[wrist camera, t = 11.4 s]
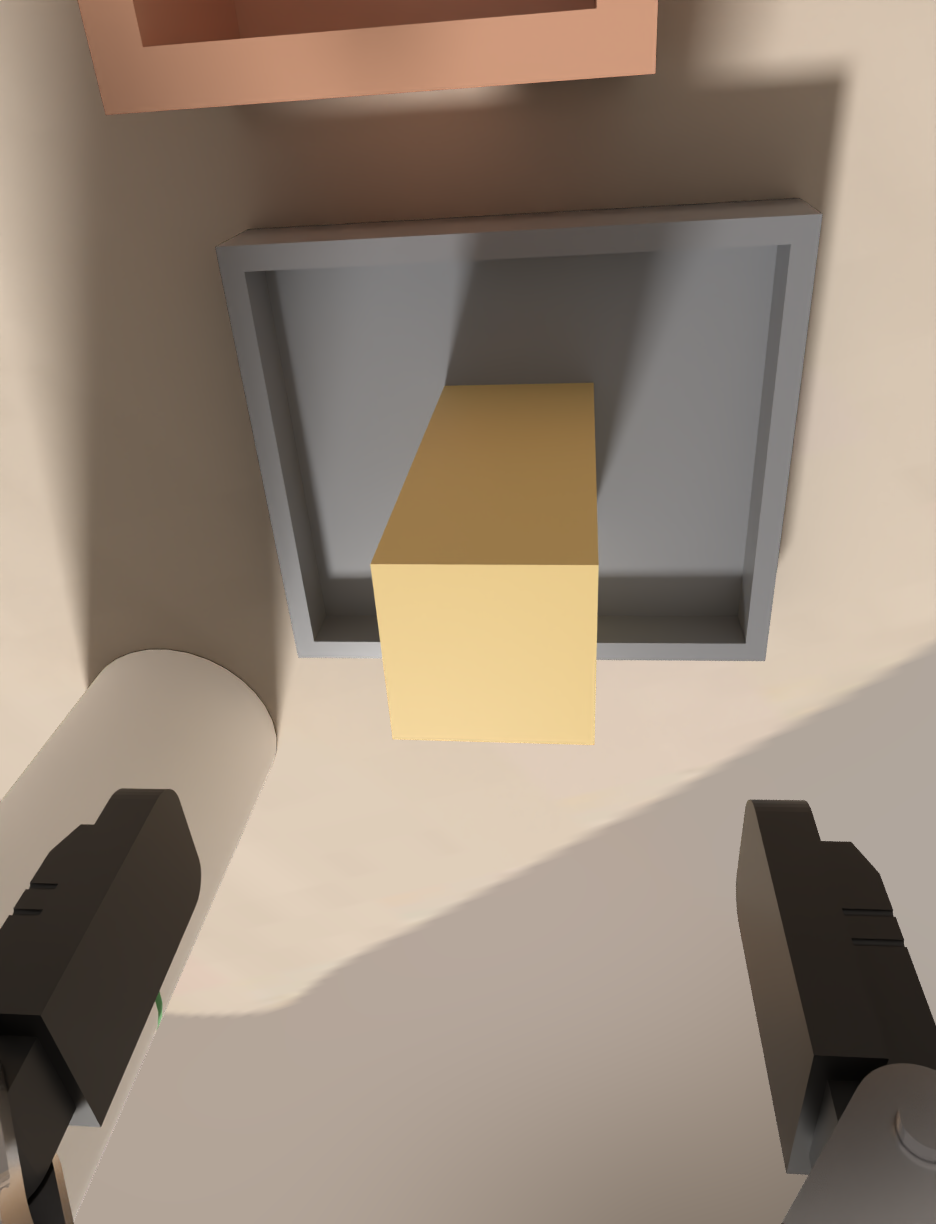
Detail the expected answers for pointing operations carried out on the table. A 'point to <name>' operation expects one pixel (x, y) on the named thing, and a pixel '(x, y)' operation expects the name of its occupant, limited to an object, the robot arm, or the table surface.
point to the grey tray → (537, 354)
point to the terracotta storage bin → (352, 47)
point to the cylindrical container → (141, 759)
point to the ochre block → (494, 571)
